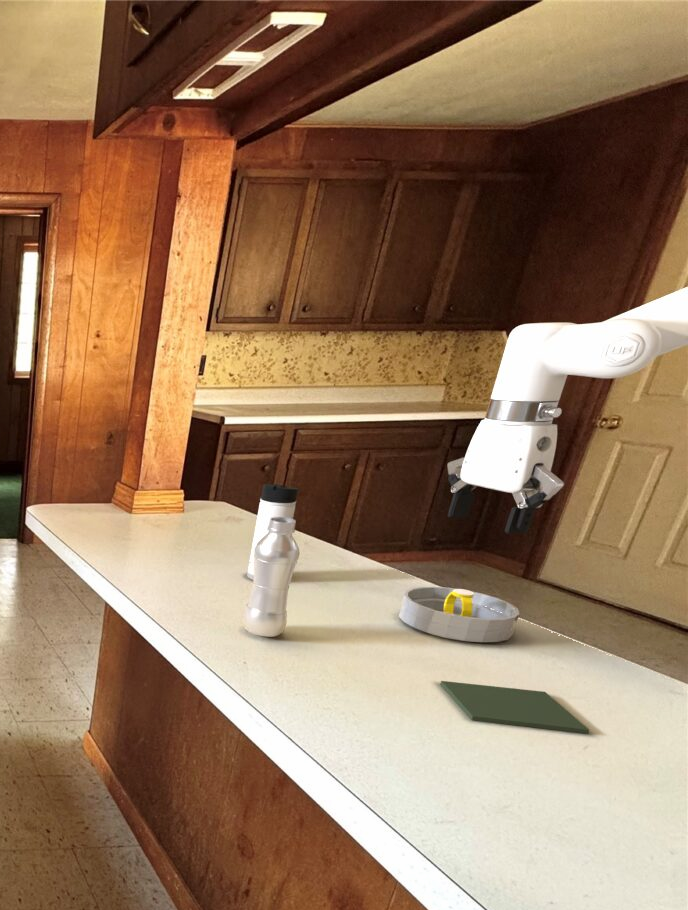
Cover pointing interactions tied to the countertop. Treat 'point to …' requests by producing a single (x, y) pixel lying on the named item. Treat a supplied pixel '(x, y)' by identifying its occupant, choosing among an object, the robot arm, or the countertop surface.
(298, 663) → the countertop surface
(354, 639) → the countertop surface
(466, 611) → the watch
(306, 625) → the countertop surface
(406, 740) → the countertop surface
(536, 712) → the mat
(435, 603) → the basin
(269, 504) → the travel mug
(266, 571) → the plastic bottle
